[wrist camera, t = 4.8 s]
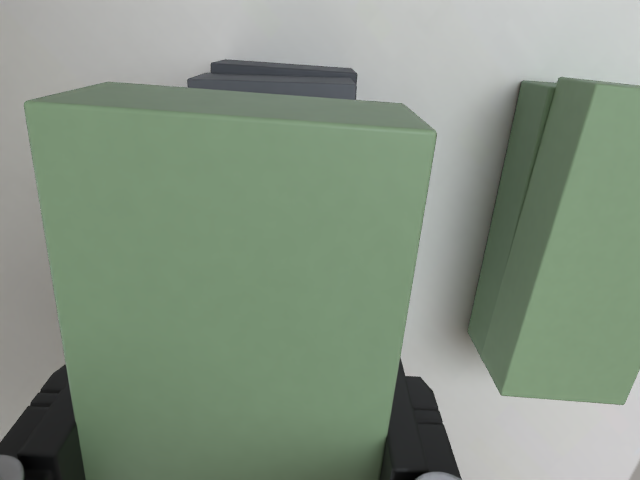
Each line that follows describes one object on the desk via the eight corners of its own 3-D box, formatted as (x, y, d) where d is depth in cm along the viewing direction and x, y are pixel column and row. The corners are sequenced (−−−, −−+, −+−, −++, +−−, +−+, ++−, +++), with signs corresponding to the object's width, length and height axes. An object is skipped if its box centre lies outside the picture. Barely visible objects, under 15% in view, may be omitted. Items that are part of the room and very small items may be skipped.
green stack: (518, 71, 23) (583, 82, 17) (652, 80, 23) (759, 94, 17) (462, 331, 28) (498, 403, 23) (572, 337, 29) (633, 409, 23)
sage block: (105, 80, 10) (20, 100, 7) (404, 103, 10) (438, 130, 7) (150, 551, 15) (113, 667, 12) (343, 559, 15) (348, 675, 13)
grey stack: (218, 58, 22) (186, 66, 17) (357, 68, 23) (371, 79, 17) (221, 324, 28) (198, 396, 22) (333, 330, 28) (338, 402, 23)
